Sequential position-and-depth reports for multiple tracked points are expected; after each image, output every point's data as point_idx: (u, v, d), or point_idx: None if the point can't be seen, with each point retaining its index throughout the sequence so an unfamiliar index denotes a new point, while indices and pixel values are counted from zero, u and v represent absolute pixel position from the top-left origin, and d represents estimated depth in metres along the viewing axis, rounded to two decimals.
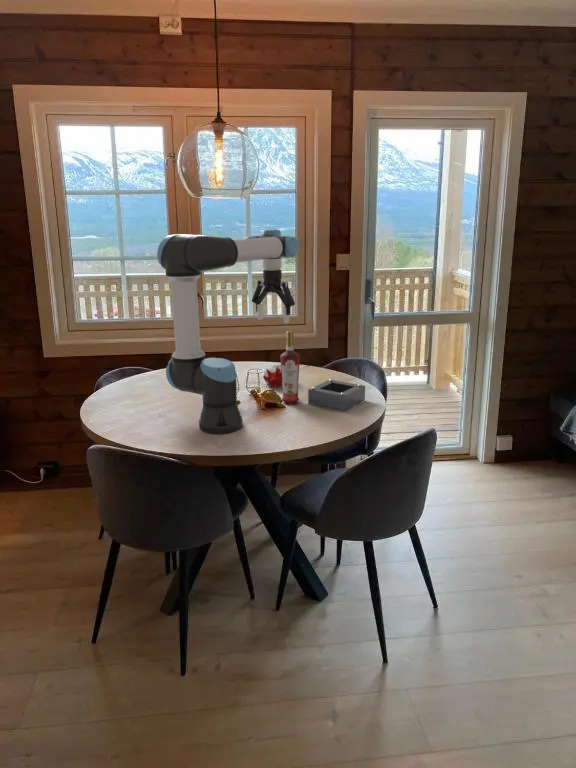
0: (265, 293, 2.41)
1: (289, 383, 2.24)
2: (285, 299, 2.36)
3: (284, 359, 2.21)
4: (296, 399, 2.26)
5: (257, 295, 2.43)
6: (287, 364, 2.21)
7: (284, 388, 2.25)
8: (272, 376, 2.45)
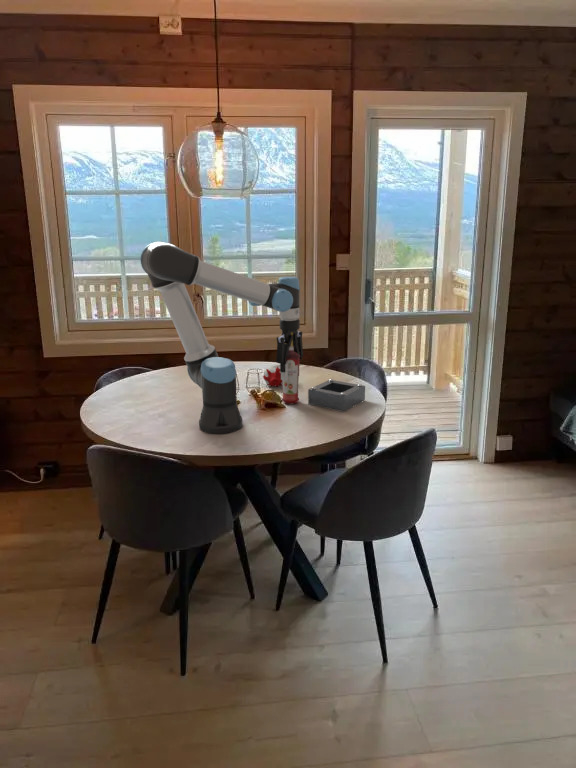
0: None
1: (289, 383, 2.24)
2: None
3: None
4: (296, 399, 2.26)
5: (297, 348, 2.28)
6: (287, 363, 2.21)
7: (284, 388, 2.25)
8: (272, 376, 2.45)
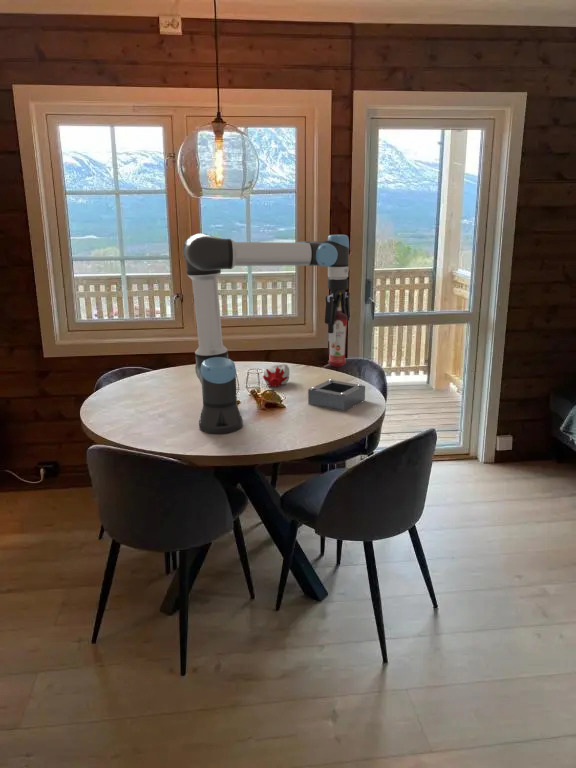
0: None
1: (336, 345, 2.19)
2: None
3: None
4: (343, 361, 2.22)
5: None
6: None
7: (331, 350, 2.20)
8: (272, 376, 2.45)
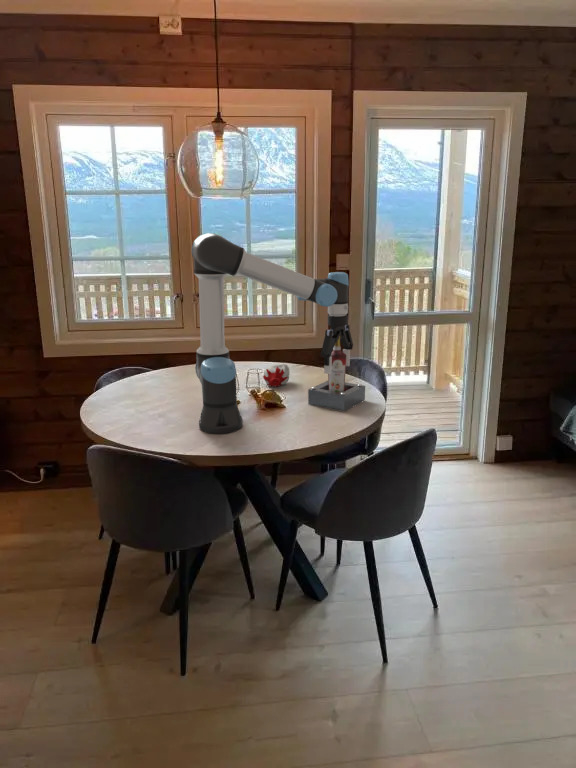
0: (341, 339, 2.24)
1: (336, 383, 2.23)
2: None
3: None
4: None
5: (346, 339, 2.28)
6: (335, 363, 2.20)
7: (331, 388, 2.25)
8: (272, 376, 2.45)
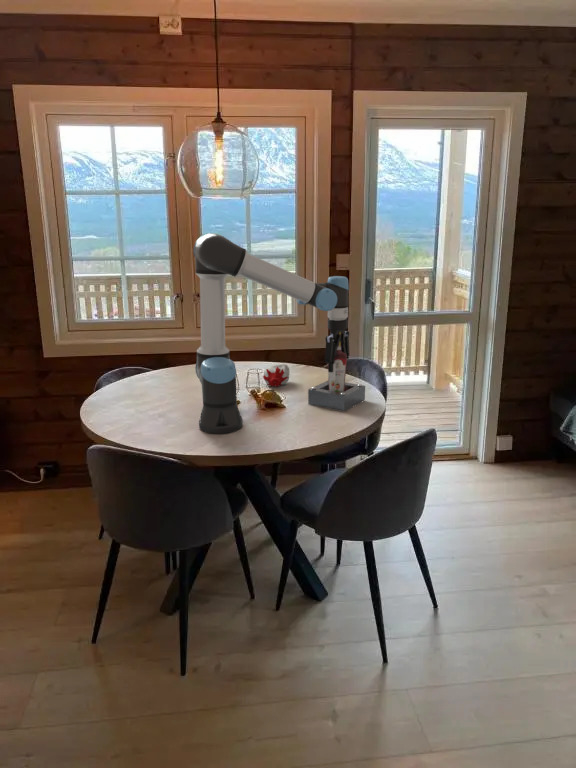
0: None
1: (336, 383, 2.23)
2: None
3: None
4: None
5: None
6: (335, 363, 2.20)
7: (331, 388, 2.25)
8: (272, 376, 2.45)
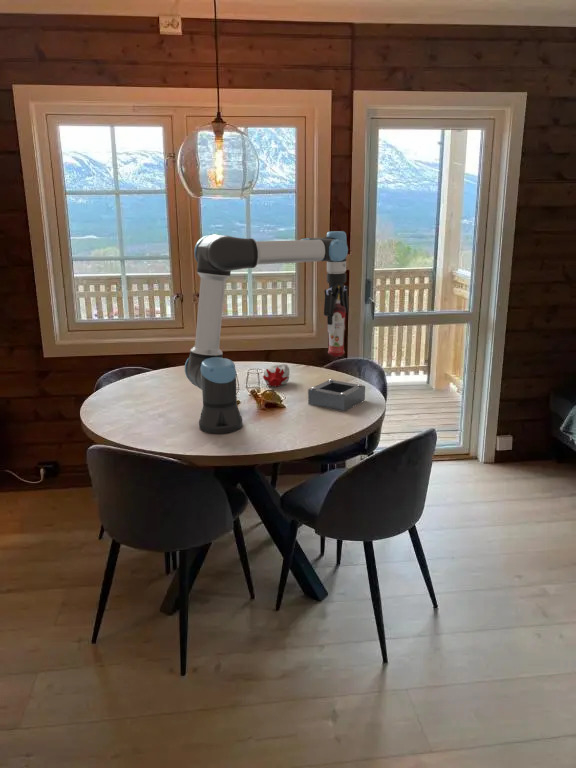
0: None
1: (335, 336, 2.31)
2: None
3: None
4: (342, 351, 2.34)
5: None
6: None
7: (330, 341, 2.33)
8: (272, 376, 2.45)
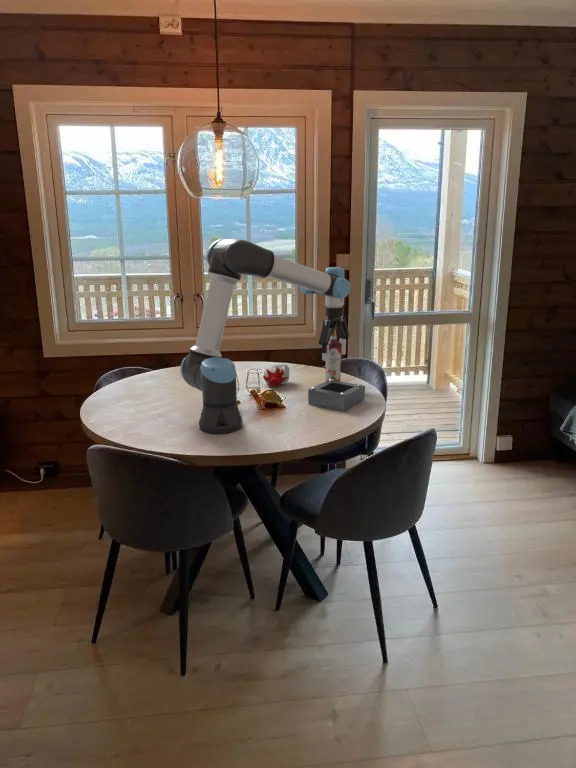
0: (338, 329, 2.43)
1: (332, 370, 2.41)
2: None
3: None
4: None
5: None
6: (331, 352, 2.39)
7: (328, 374, 2.43)
8: (272, 376, 2.45)
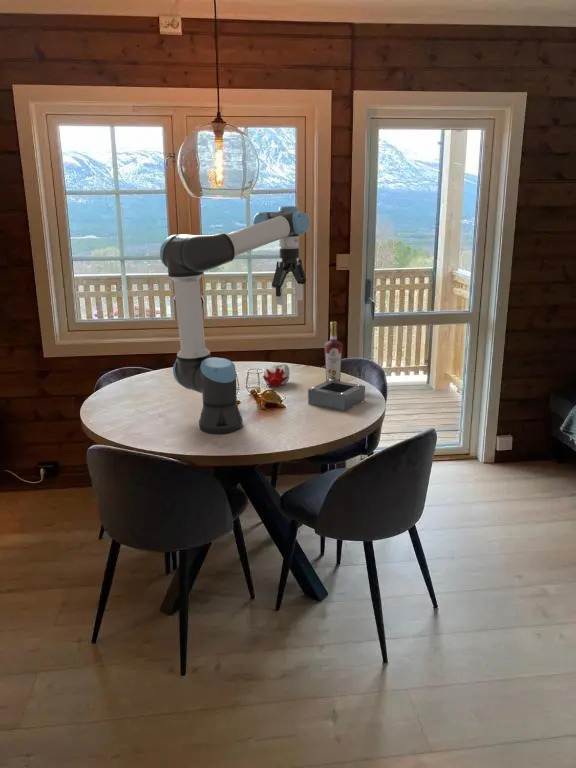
0: (294, 273, 2.33)
1: (332, 370, 2.41)
2: None
3: (328, 347, 2.39)
4: None
5: (299, 274, 2.37)
6: (331, 352, 2.39)
7: (328, 374, 2.43)
8: (272, 376, 2.45)
